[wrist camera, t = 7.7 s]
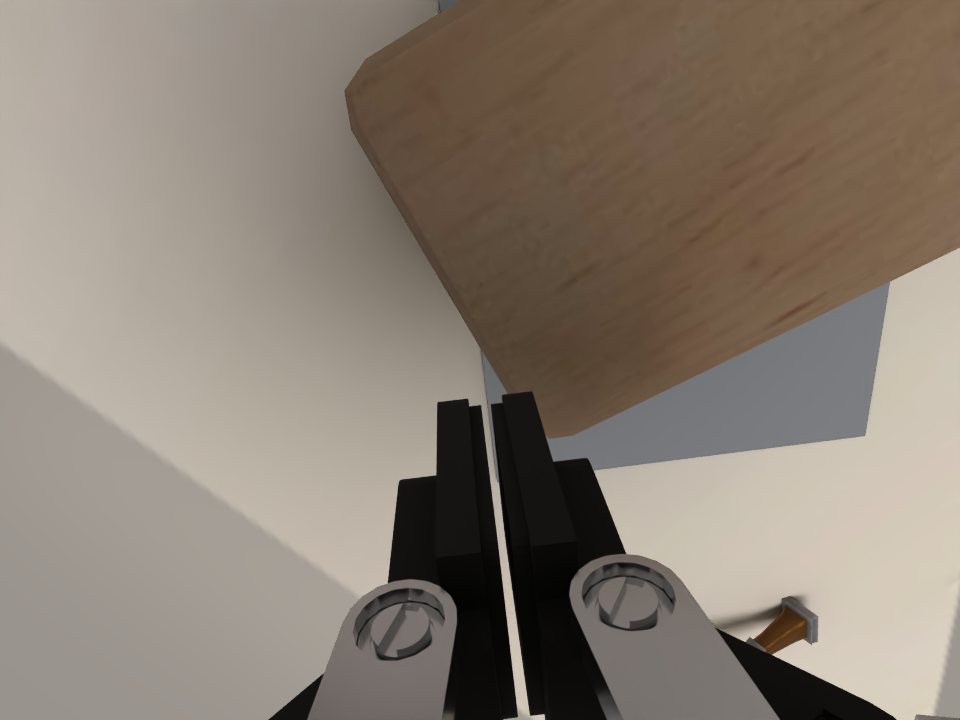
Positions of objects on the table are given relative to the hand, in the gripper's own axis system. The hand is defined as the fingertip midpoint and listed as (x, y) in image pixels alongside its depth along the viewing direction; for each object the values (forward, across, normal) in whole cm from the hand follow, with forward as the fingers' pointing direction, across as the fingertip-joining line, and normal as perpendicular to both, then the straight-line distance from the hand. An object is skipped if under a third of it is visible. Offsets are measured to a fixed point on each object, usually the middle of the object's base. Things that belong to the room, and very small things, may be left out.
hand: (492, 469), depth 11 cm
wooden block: (+9, +1, -2) cm, 9 cm away
